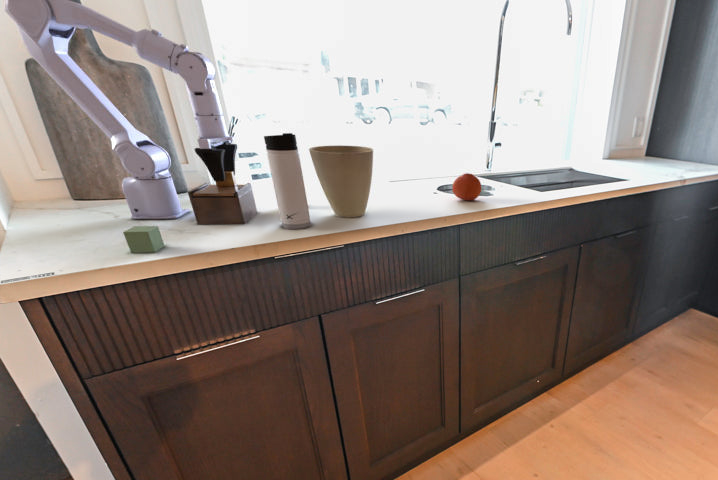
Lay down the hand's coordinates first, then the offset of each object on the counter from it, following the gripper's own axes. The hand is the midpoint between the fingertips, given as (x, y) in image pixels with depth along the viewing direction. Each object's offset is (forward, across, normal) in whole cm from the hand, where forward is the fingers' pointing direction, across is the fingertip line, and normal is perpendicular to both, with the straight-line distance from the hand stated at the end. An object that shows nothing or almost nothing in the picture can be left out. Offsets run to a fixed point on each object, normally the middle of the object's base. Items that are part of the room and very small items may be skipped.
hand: (225, 178), depth 103 cm
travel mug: (+9, -12, -17) cm, 23 cm away
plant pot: (+9, -2, -28) cm, 29 cm away
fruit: (+9, +16, -62) cm, 64 cm away
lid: (+2, -4, 0) cm, 5 cm away
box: (+9, -4, 0) cm, 9 cm away
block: (+9, -28, +7) cm, 30 cm away
